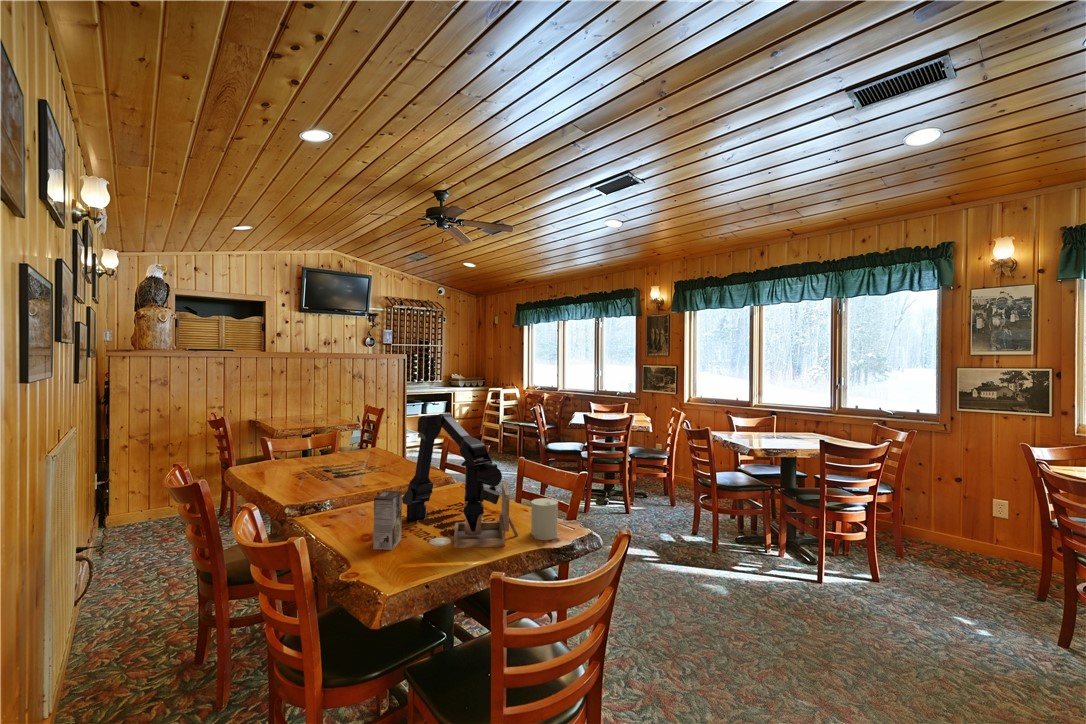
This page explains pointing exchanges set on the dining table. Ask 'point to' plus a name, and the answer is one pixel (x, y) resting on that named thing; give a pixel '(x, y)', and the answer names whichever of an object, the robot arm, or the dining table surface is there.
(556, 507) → the can
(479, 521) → the terracotta pot
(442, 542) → the saucer
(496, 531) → the open wooden box
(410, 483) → the robot arm
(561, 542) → the dining table surface
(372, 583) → the dining table surface
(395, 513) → the coffee box
